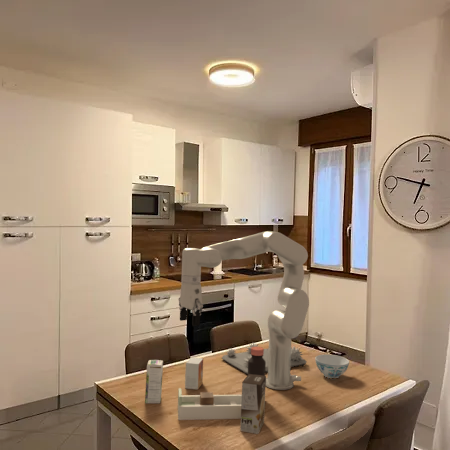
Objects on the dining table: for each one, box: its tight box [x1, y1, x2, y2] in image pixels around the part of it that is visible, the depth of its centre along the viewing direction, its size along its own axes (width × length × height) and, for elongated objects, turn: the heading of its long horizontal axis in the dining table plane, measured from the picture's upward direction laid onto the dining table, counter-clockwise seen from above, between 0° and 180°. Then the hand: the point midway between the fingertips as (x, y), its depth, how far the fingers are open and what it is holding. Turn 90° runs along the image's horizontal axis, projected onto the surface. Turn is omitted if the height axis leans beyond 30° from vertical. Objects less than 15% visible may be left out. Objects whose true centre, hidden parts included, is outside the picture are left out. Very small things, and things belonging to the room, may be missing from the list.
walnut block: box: [199, 391, 214, 405], centre depth 151 cm, size 4×4×4 cm
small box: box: [184, 357, 204, 391], centre depth 176 cm, size 8×6×10 cm
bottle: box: [247, 346, 266, 376], centre depth 164 cm, size 7×7×20 cm
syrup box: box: [144, 359, 164, 404], centre depth 160 cm, size 6×6×14 cm
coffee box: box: [239, 374, 267, 435], centre depth 142 cm, size 9×6×16 cm
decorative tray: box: [221, 342, 307, 375], centre depth 208 cm, size 35×26×10 cm
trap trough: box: [177, 387, 242, 421], centre depth 152 cm, size 28×10×8 cm, turn 97°
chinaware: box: [314, 354, 350, 379], centre depth 193 cm, size 15×15×8 cm
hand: (189, 322), depth 168 cm, fingers open, 9 cm apart
